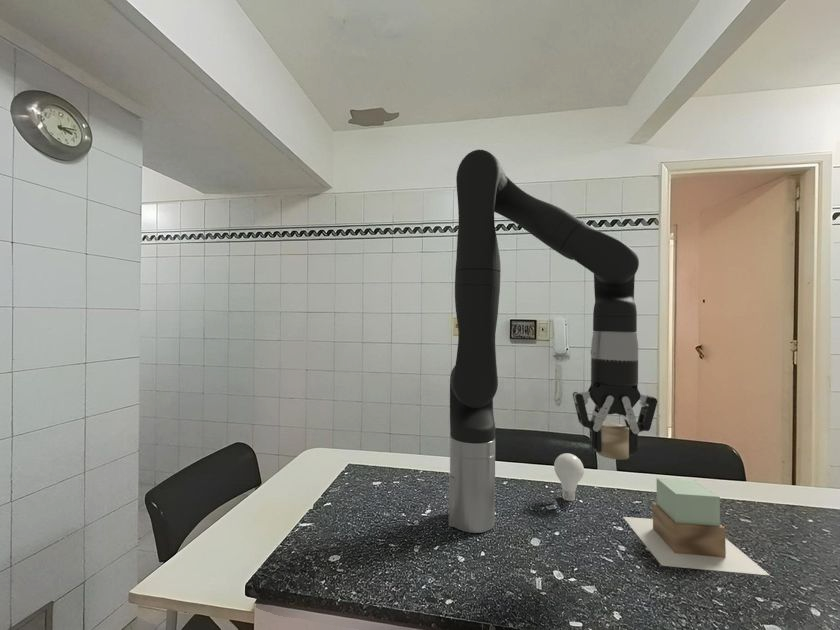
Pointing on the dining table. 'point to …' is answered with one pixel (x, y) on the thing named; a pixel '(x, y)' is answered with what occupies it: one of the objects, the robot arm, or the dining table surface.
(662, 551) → the base board
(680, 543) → the walnut block
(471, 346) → the robot arm
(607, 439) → the birch cylinder
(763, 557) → the dining table surface
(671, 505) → the sage block
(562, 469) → the lightbulb
